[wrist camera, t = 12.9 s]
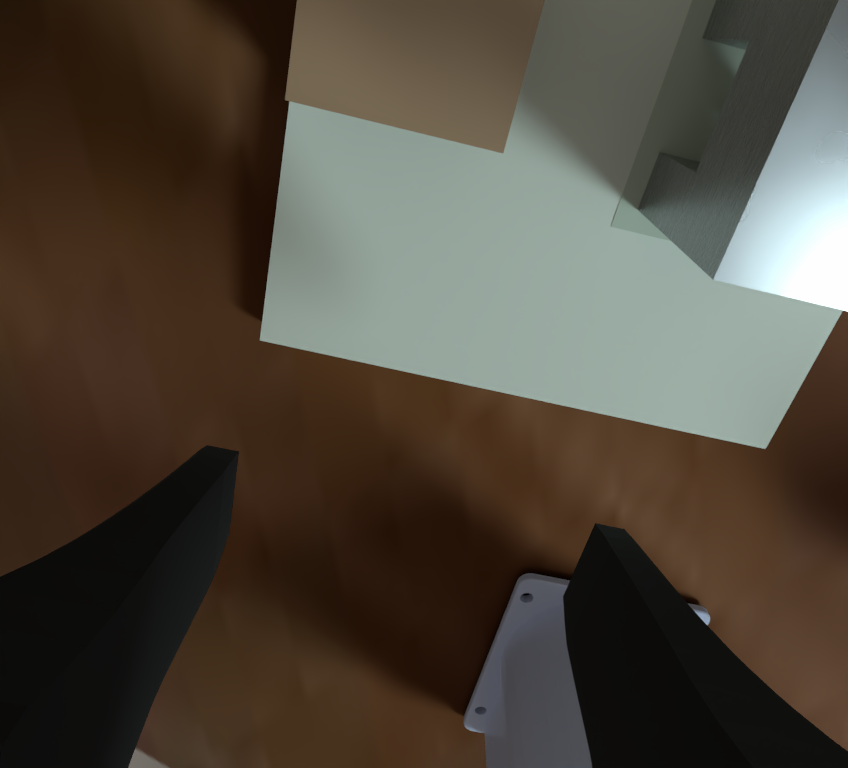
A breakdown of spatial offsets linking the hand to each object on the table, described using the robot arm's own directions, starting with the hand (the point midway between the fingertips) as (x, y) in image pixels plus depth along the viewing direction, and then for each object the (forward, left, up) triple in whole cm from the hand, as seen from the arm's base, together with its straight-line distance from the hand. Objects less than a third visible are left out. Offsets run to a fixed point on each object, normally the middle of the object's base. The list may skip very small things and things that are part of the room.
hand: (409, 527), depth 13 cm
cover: (+9, +2, -9) cm, 13 cm away
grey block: (+9, -7, -9) cm, 14 cm away
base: (+6, -4, -10) cm, 12 cm away
